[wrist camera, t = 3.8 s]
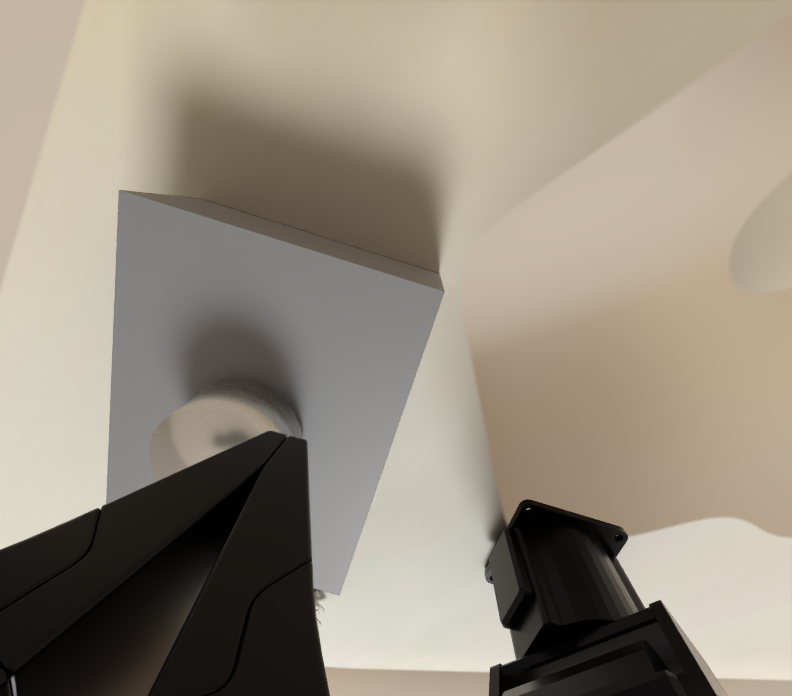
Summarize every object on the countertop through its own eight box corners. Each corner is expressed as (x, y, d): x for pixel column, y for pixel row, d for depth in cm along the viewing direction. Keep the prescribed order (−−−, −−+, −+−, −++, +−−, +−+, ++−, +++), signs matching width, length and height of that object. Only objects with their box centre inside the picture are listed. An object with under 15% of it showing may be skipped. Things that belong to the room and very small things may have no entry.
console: (439, 273, 18) (444, 291, 13) (356, 520, 23) (339, 595, 19) (200, 198, 18) (118, 189, 13) (171, 465, 23) (105, 528, 18)
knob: (340, 355, 20) (292, 431, 13) (320, 431, 21) (267, 536, 14) (252, 329, 19) (153, 390, 12) (239, 407, 21) (145, 500, 14)
